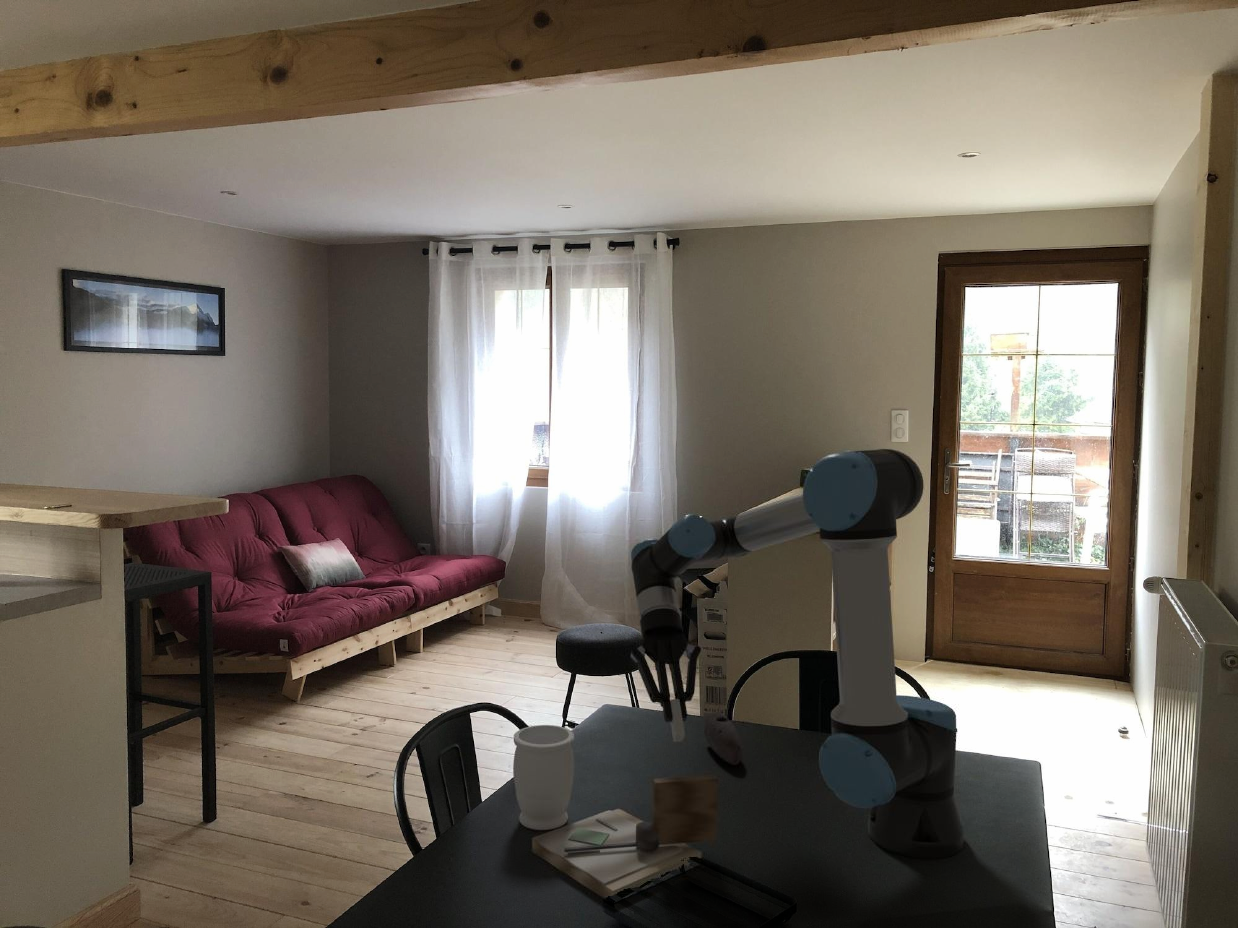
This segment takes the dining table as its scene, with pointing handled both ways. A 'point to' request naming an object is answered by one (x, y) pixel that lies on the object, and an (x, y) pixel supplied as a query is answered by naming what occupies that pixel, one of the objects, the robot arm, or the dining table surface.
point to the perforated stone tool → (723, 738)
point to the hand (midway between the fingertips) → (679, 738)
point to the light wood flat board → (609, 853)
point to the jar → (543, 775)
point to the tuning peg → (675, 814)
